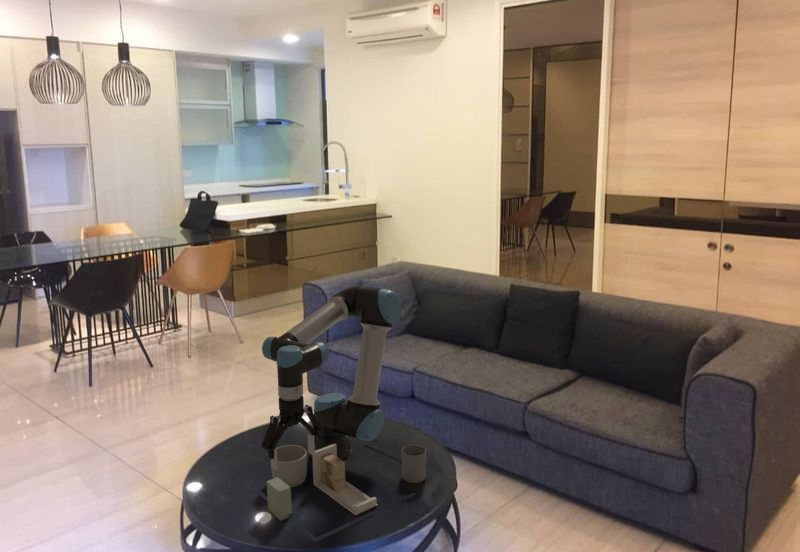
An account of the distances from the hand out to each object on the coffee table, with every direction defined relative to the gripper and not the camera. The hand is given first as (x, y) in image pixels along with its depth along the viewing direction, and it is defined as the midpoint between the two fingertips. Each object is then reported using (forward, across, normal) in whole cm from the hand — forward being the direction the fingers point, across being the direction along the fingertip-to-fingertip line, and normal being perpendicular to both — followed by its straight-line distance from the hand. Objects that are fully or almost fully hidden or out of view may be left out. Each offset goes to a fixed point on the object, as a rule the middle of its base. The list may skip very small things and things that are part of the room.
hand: (293, 460), depth 205 cm
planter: (+18, +9, +17) cm, 26 cm away
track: (+18, +17, -4) cm, 25 cm away
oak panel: (+17, +17, +3) cm, 24 cm away
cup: (+18, +43, -9) cm, 47 cm away
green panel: (+18, -4, +3) cm, 19 cm away
